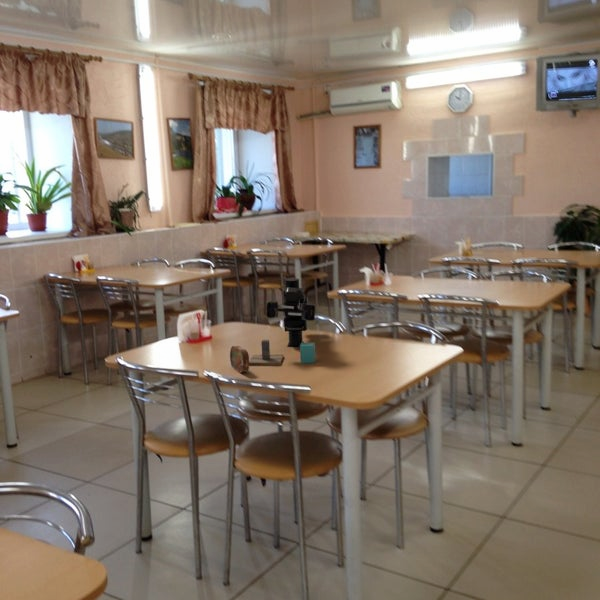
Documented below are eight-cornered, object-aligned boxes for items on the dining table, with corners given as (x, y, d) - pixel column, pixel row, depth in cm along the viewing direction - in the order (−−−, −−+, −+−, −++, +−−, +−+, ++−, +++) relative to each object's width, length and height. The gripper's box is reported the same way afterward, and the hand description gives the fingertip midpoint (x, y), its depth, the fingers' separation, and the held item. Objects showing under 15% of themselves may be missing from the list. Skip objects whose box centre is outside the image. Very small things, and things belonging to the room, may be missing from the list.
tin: (229, 366, 261) (228, 344, 260) (237, 364, 262) (236, 343, 261) (242, 375, 247) (241, 352, 246) (251, 374, 249) (250, 351, 247)
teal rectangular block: (301, 359, 266) (301, 342, 265) (315, 359, 266) (314, 342, 265) (300, 363, 261) (300, 345, 260) (314, 362, 261) (313, 345, 260)
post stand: (252, 357, 272) (252, 337, 271) (283, 357, 271) (282, 336, 270) (248, 365, 260) (247, 344, 259) (280, 365, 259) (279, 344, 258)
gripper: (269, 284, 276) (265, 294, 261) (317, 287, 275) (315, 297, 260) (268, 311, 279) (264, 322, 264) (315, 314, 278) (313, 326, 263)
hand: (289, 316), depth 263 cm, fingers open, 9 cm apart
